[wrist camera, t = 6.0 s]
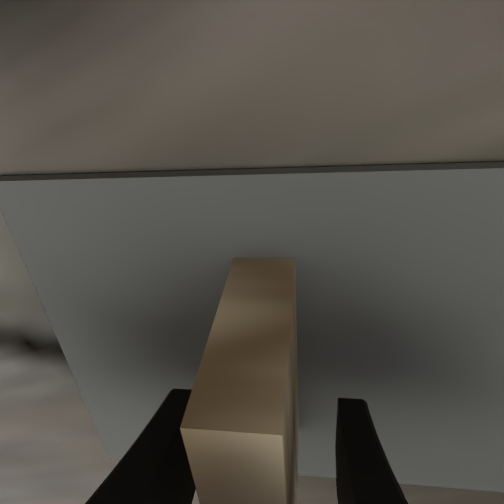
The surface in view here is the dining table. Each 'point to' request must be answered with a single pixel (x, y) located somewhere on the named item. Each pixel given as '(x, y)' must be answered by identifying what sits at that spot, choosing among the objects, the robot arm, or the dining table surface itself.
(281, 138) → the dining table surface
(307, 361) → the mat
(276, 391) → the wooden block
